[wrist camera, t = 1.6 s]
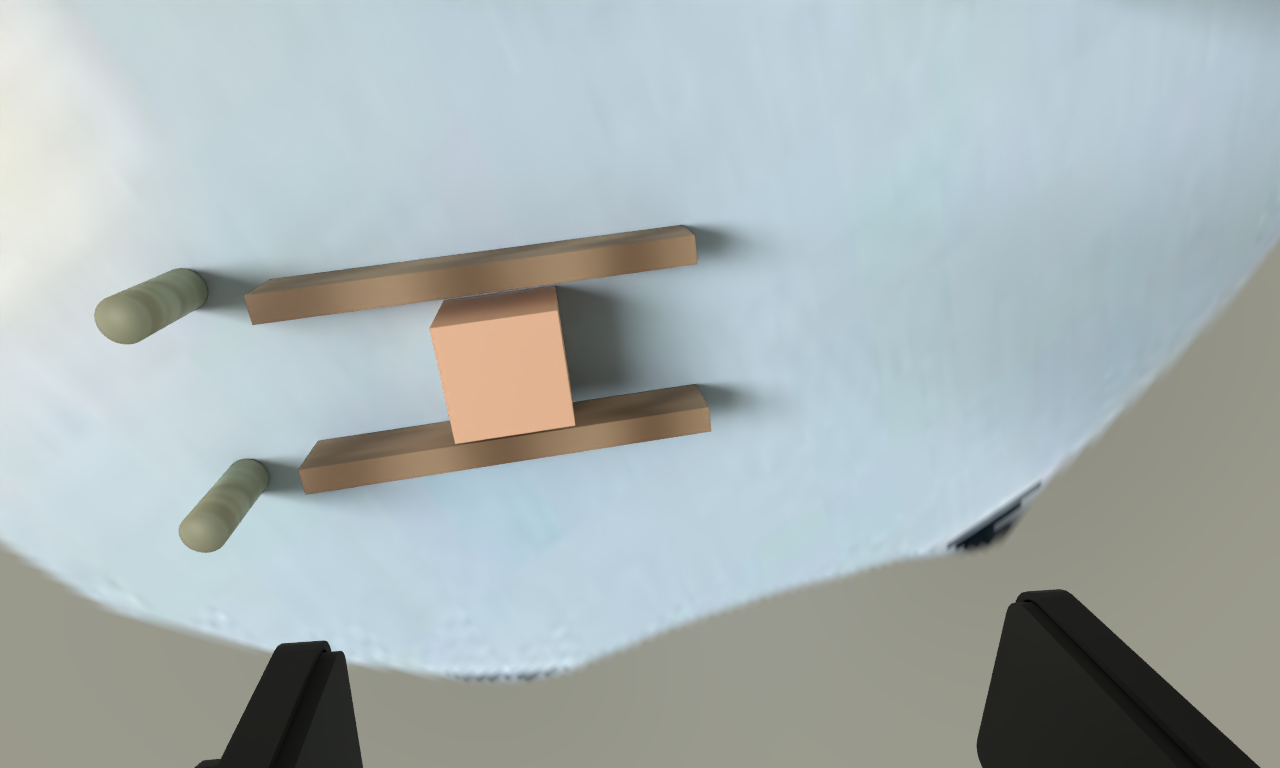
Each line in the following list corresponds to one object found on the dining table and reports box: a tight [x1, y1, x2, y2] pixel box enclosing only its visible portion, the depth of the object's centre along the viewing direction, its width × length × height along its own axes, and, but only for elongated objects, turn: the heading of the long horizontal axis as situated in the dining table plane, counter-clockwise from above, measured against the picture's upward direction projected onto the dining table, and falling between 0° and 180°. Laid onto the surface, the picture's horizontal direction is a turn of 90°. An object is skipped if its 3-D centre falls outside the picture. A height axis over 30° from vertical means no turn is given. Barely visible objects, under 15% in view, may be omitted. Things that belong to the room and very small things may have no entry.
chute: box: [94, 225, 711, 553], centre depth 31 cm, size 22×11×5 cm, turn 96°
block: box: [430, 286, 575, 444], centre depth 32 cm, size 5×5×4 cm
